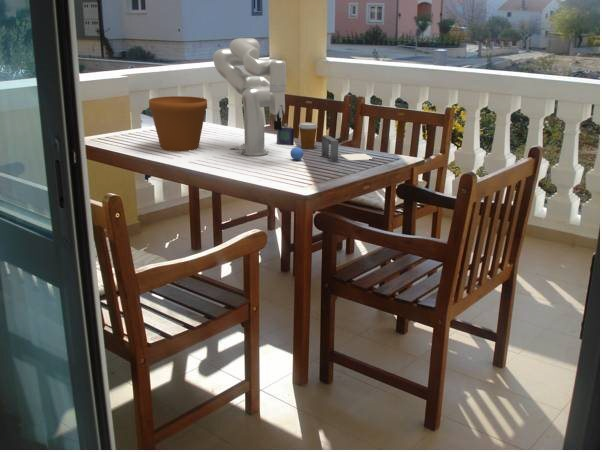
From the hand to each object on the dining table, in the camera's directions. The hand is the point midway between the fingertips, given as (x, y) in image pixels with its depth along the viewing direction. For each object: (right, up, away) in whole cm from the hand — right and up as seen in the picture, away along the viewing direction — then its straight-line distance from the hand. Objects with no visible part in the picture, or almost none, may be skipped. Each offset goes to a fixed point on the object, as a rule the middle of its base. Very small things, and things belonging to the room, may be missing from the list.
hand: (277, 129), depth 315 cm
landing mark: (+37, -11, +16) cm, 42 cm away
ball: (+9, -10, +6) cm, 15 cm away
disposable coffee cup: (+14, -4, +37) cm, 40 cm away
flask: (+2, -2, +43) cm, 44 cm away
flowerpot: (-50, -5, +30) cm, 59 cm away
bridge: (+24, -12, +12) cm, 29 cm away
